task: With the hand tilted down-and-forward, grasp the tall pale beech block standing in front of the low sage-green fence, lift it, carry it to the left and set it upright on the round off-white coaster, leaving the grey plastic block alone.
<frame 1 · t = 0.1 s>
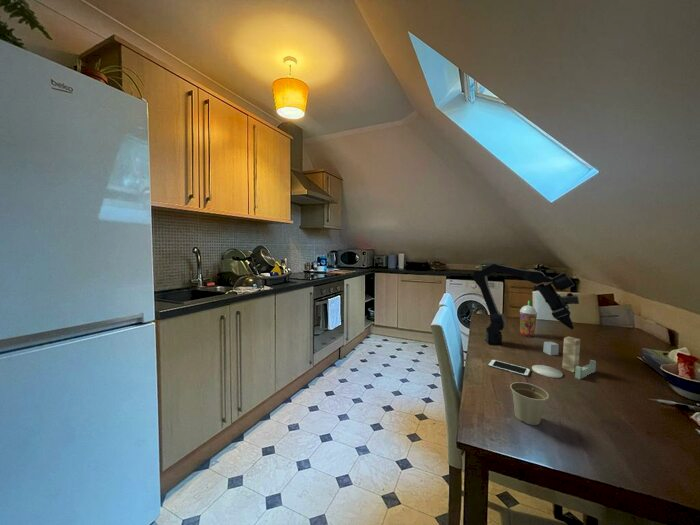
hand: (572, 326, 119), 15 cm above the table, tool tilted 35°, fingers open, 9 cm apart
coaster: (546, 371, 107), on the table
grey block: (550, 353, 126), on the table
fence: (585, 374, 105), on the table
flower pot: (527, 419, 78), on the table
beech block: (570, 369, 110), on the table
cell phone: (508, 369, 110), on the table
smoothie: (526, 335, 151), on the table
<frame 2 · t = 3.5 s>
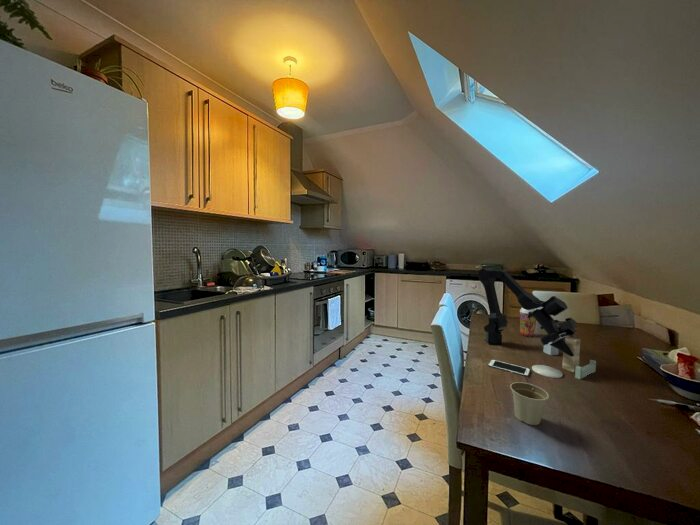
hand: (575, 355, 108), 7 cm above the table, tool tilted 45°, fingers closed on beech block, 4 cm apart
beech block: (570, 369, 110), on the table, touching gripper
everything else where it was.
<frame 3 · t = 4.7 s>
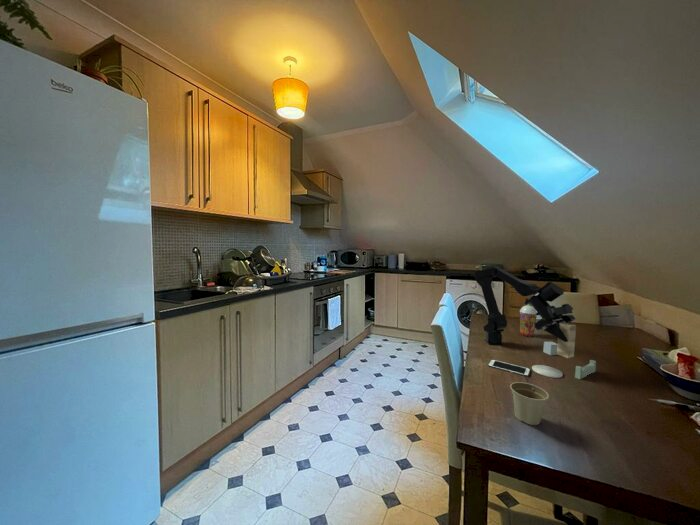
hand: (570, 340, 106), 13 cm above the table, tool tilted 45°, fingers closed on beech block, 4 cm apart
beech block: (565, 355, 108), point 6 cm above the table, touching gripper
everything else where it was.
when the fingers open (8 cm above the table, at t = 6.3 s): beech block drops 1 cm, resting on coaster.
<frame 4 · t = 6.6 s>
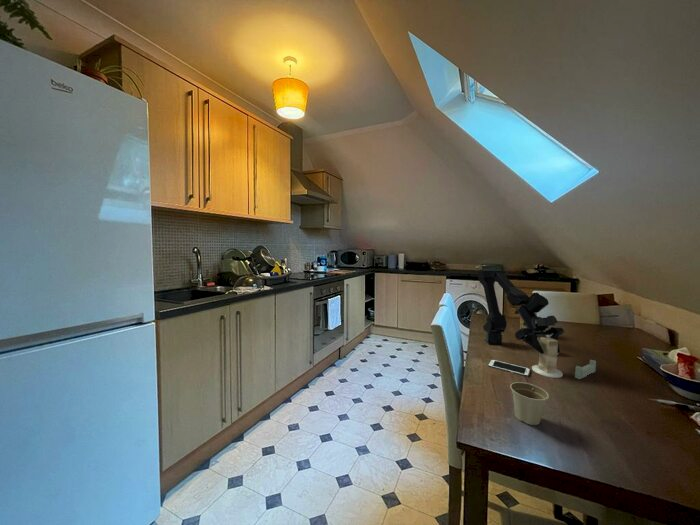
hand: (551, 353, 105), 8 cm above the table, tool tilted 45°, fingers open, 7 cm apart
beech block: (546, 370, 107), point 1 cm above the table, touching coaster
everything else where it was.
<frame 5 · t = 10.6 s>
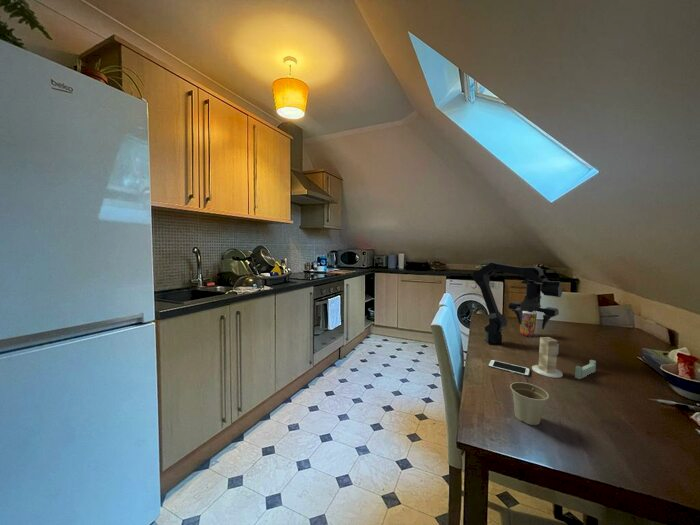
hand: (531, 326, 125), 13 cm above the table, tool pointing down, fingers open, 9 cm apart
nothing on the table moved.
at the end: beech block 0.0 cm from the coaster (horizontally); beech block tilted 0°; beech block point 0.6 cm above the table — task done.
